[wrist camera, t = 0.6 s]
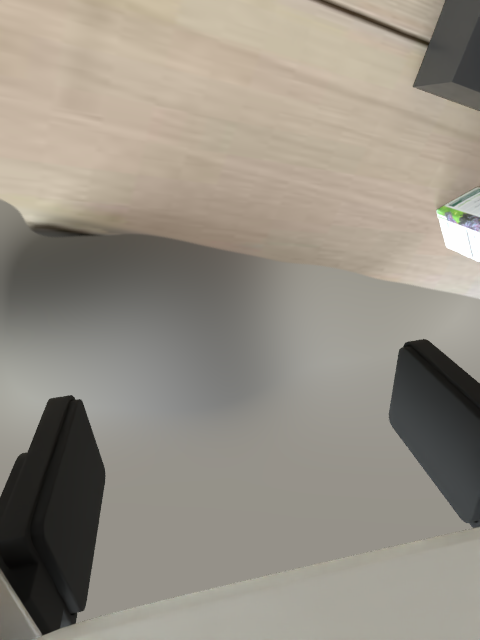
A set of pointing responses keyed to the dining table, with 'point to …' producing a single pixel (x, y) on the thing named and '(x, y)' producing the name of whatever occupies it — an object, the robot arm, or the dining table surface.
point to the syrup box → (462, 224)
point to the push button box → (454, 55)
